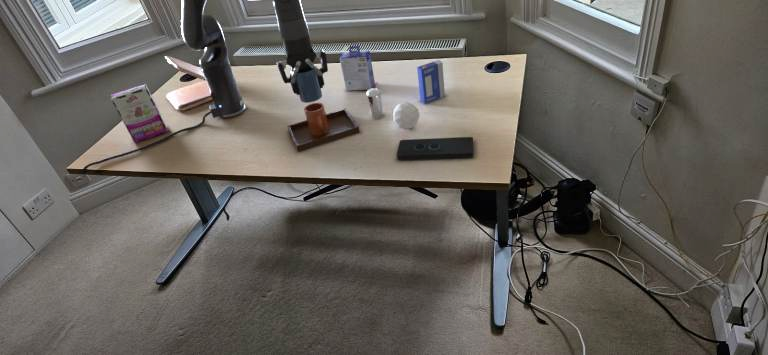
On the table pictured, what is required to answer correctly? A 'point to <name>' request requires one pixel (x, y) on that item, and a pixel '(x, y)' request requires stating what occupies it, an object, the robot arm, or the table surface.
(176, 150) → the table surface
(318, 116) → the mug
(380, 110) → the milkshake
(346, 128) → the tray
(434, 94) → the walkman
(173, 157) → the table surface
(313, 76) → the glass
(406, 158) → the smart home device
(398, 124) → the geometric ball
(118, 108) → the candy bar box
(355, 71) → the ink cartridge box
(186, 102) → the case
